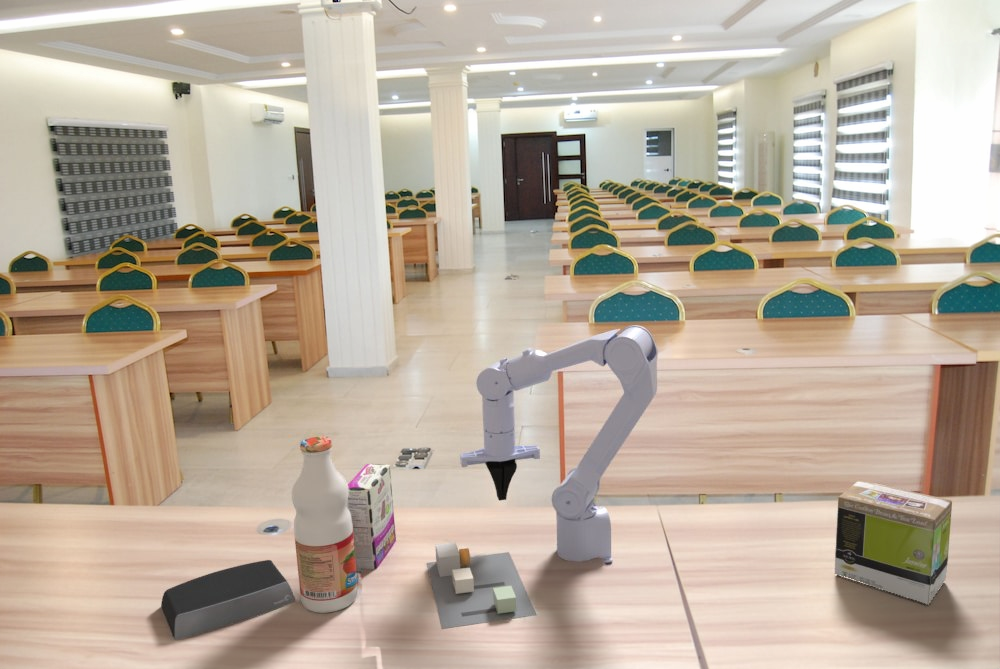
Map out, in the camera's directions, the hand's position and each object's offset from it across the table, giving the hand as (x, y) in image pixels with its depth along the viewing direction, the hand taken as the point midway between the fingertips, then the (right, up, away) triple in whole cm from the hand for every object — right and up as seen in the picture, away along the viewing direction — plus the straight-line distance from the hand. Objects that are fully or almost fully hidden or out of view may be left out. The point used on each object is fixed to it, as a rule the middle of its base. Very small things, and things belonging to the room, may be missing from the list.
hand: (501, 498), depth 150 cm
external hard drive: (-46, -15, -15) cm, 50 cm away
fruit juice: (-29, -14, -14) cm, 35 cm away
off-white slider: (-6, -12, -15) cm, 20 cm away
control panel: (-4, -13, -14) cm, 20 cm away
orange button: (-6, -10, -7) cm, 14 cm away
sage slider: (0, -13, -21) cm, 25 cm away
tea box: (+65, -11, -14) cm, 67 cm away
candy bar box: (-23, -11, -1) cm, 26 cm away
